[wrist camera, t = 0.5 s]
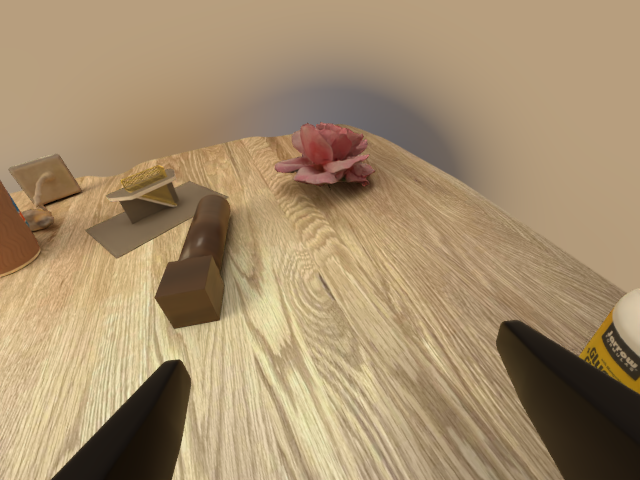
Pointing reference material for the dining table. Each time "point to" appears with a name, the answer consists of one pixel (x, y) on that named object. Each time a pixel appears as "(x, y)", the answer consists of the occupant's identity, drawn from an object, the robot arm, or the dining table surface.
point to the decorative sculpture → (44, 186)
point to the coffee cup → (14, 237)
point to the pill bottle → (618, 342)
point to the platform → (147, 210)
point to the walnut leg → (197, 268)
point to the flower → (327, 156)
